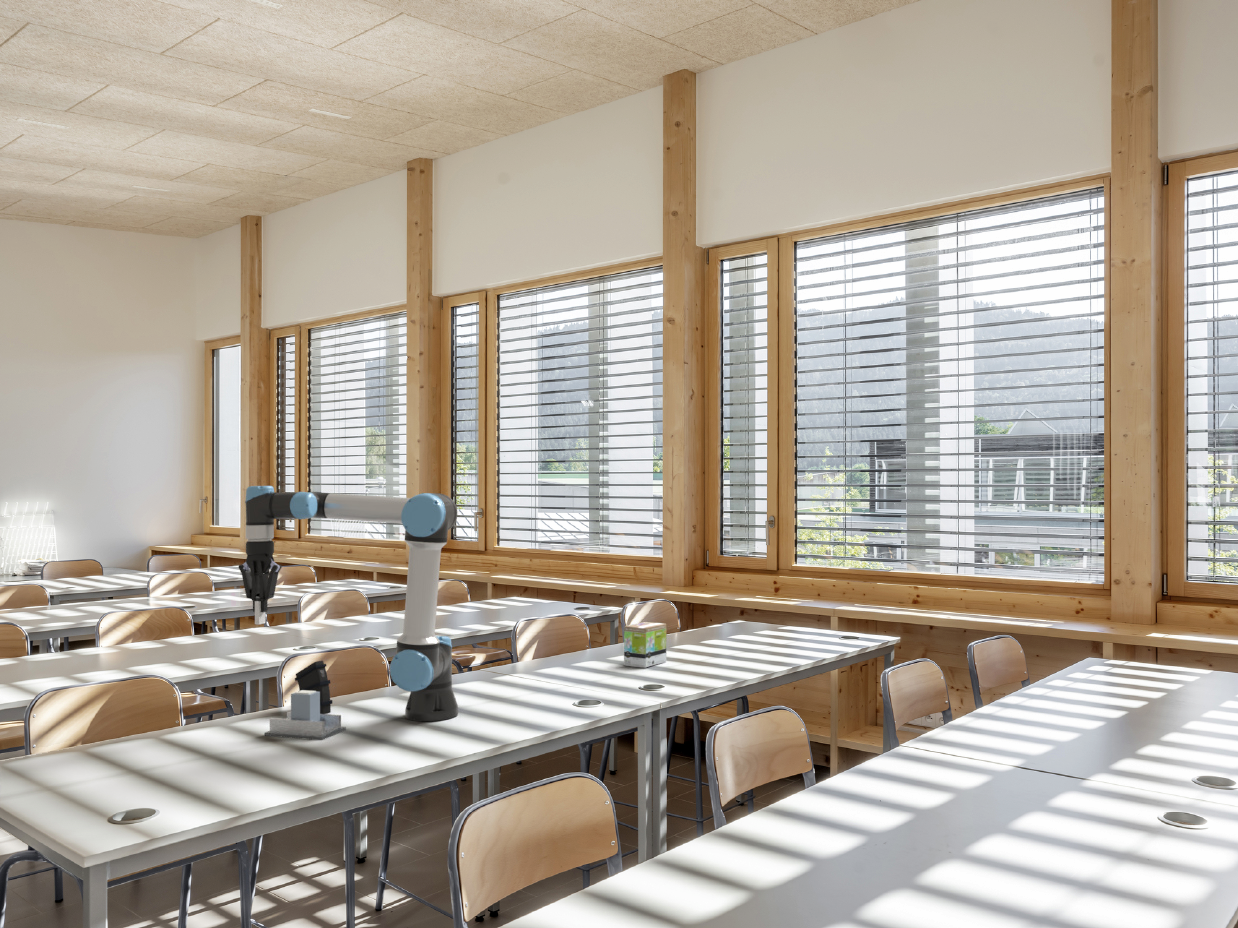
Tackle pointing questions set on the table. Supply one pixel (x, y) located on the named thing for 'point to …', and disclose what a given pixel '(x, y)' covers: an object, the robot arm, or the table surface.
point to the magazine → (316, 683)
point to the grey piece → (306, 727)
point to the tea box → (644, 644)
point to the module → (305, 705)
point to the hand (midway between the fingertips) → (260, 623)
